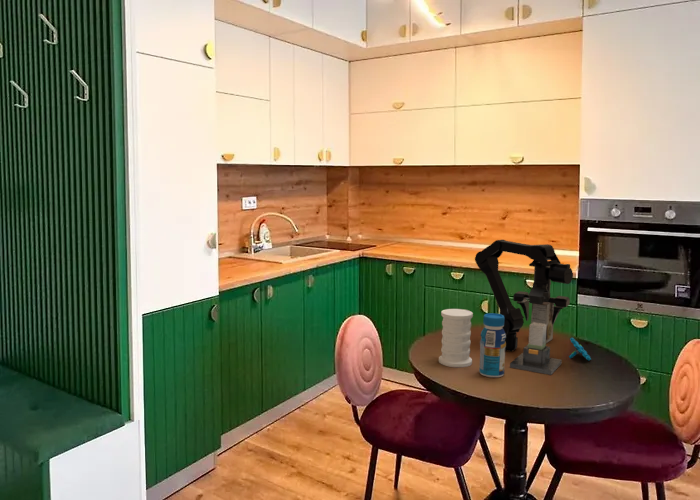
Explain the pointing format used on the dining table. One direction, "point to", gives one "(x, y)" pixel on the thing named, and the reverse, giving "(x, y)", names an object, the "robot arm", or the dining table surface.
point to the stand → (536, 361)
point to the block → (537, 336)
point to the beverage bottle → (492, 346)
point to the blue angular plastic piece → (579, 350)
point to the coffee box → (544, 317)
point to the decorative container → (456, 338)
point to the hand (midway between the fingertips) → (539, 322)
